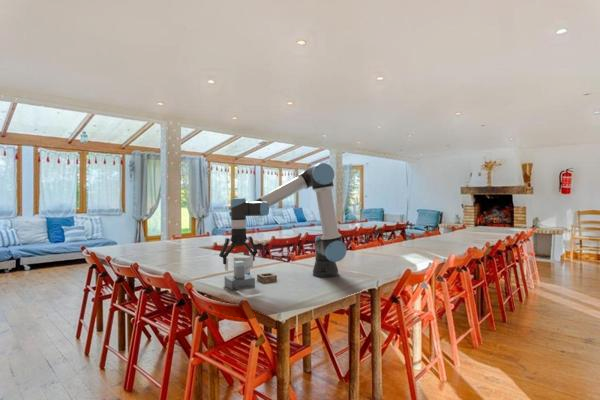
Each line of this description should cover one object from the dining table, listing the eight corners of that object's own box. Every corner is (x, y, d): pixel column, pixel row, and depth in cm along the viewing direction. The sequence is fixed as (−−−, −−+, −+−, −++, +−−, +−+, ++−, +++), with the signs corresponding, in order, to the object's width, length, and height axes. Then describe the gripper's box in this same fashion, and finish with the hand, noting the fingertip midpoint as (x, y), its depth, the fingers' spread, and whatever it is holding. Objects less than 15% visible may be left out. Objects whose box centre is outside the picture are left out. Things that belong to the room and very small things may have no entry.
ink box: (250, 276, 202) (250, 256, 202) (247, 278, 197) (246, 257, 197) (237, 275, 204) (237, 255, 204) (233, 277, 199) (233, 257, 199)
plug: (241, 283, 182) (241, 260, 182) (244, 285, 178) (244, 261, 178) (234, 284, 180) (234, 261, 179) (237, 286, 176) (236, 262, 176)
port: (246, 282, 187) (246, 273, 187) (254, 287, 177) (254, 277, 177) (224, 285, 181) (224, 275, 181) (232, 291, 171) (232, 280, 171)
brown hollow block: (270, 279, 193) (270, 272, 193) (276, 282, 186) (276, 275, 186) (257, 281, 189) (257, 274, 189) (263, 284, 182) (263, 277, 182)
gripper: (258, 226, 188) (258, 265, 188) (212, 228, 175) (213, 270, 176) (263, 227, 182) (264, 267, 182) (217, 229, 169) (217, 273, 169)
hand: (239, 269), depth 179 cm, fingers open, 13 cm apart
